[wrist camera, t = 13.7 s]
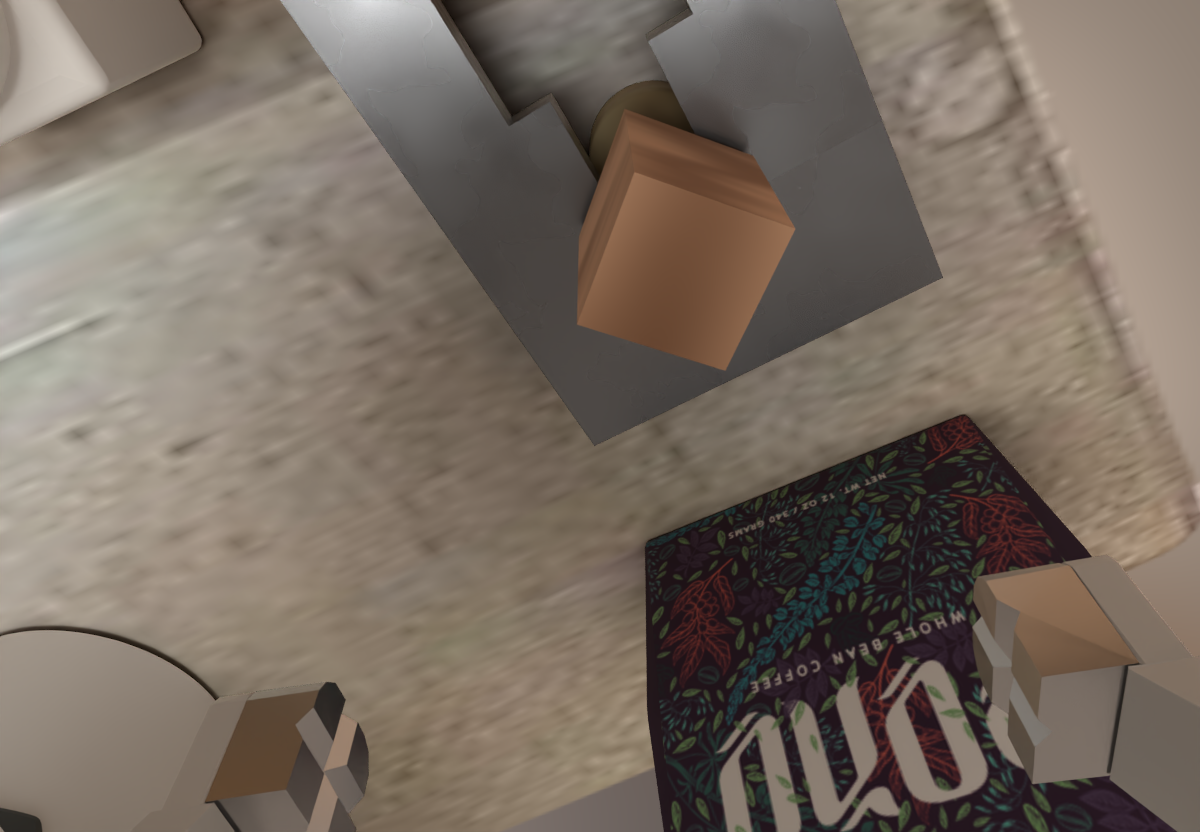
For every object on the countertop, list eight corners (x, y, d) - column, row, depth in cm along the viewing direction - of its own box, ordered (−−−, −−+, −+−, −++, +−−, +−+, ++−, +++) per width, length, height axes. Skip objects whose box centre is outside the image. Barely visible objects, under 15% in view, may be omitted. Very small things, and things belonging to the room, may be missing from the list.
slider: (734, 106, 30) (806, 223, 20) (685, 222, 32) (729, 379, 22) (614, 61, 29) (629, 160, 19) (573, 183, 31) (566, 329, 21)
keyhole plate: (896, 223, 32) (943, 277, 28) (593, 377, 35) (594, 446, 31) (639, -411, 23) (650, -475, 18) (260, -121, 26) (197, -118, 22)
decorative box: (629, 538, 40) (690, 1497, 17) (979, 397, 36) (1710, 1386, 13) (701, 647, 44) (833, 1546, 21) (1023, 530, 40) (1644, 1475, 17)
